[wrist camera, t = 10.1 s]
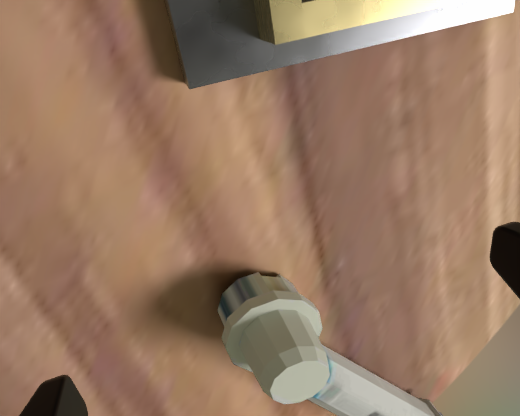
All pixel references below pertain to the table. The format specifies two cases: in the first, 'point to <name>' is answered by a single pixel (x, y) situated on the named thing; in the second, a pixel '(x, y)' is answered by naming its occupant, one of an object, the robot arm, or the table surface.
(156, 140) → the table surface
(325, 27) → the framed base plate
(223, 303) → the light grey long piece
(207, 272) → the table surface
